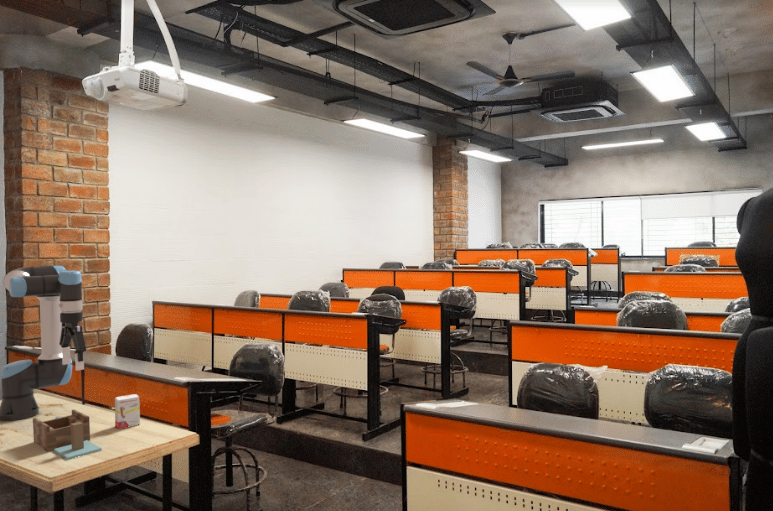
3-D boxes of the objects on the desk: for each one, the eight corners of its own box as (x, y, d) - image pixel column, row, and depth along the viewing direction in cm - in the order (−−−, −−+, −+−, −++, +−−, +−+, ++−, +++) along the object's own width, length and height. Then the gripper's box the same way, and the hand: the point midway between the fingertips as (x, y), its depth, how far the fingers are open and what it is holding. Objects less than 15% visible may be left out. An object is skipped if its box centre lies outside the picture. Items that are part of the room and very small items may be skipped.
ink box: (117, 429, 226) (116, 400, 226) (115, 426, 230) (114, 397, 230) (140, 425, 232) (139, 396, 231) (137, 422, 236) (136, 393, 235)
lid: (54, 452, 204) (53, 424, 204) (87, 443, 212) (86, 416, 212) (67, 460, 195) (66, 431, 195) (101, 451, 204) (100, 423, 203)
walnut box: (33, 442, 214) (32, 418, 214) (74, 432, 224) (74, 409, 224) (47, 451, 204) (46, 426, 204) (90, 440, 215) (89, 416, 214)
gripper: (48, 309, 222) (50, 363, 223) (72, 316, 205) (74, 374, 206) (69, 307, 227) (71, 360, 228) (94, 313, 211) (96, 370, 212)
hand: (73, 366), depth 217 cm, fingers open, 13 cm apart
